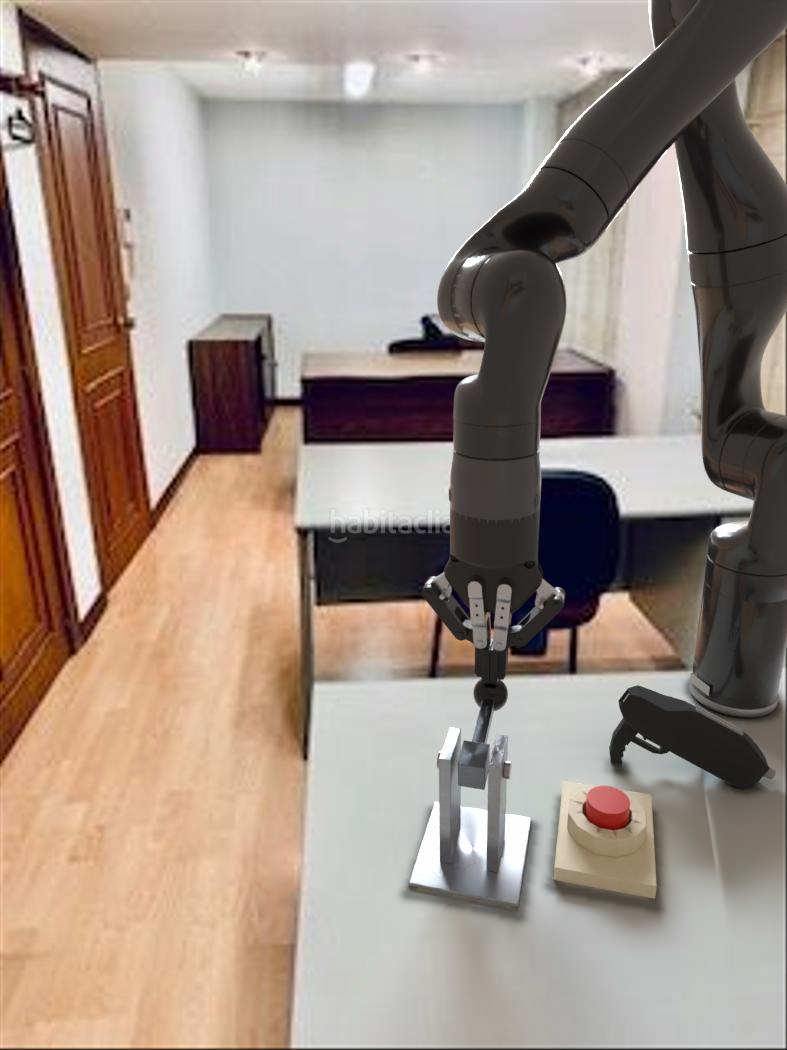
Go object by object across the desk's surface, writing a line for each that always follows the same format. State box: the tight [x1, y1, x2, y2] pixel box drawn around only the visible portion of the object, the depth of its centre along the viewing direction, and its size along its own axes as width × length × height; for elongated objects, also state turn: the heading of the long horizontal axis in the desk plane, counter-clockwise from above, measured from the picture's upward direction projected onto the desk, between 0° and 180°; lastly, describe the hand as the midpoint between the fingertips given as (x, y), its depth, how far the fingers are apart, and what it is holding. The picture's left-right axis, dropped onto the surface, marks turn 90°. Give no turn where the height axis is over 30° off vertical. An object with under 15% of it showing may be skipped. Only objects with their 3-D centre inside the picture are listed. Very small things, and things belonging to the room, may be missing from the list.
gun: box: [608, 684, 777, 791], centre depth 75 cm, size 3×16×10 cm, turn 78°
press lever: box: [457, 678, 509, 791], centre depth 67 cm, size 12×3×3 cm, turn 165°
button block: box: [553, 780, 658, 900], centre depth 66 cm, size 11×8×4 cm
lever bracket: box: [408, 726, 532, 908], centre depth 64 cm, size 10×9×12 cm
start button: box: [586, 785, 630, 830], centre depth 65 cm, size 4×4×2 cm
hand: (490, 679), depth 70 cm, fingers closed
